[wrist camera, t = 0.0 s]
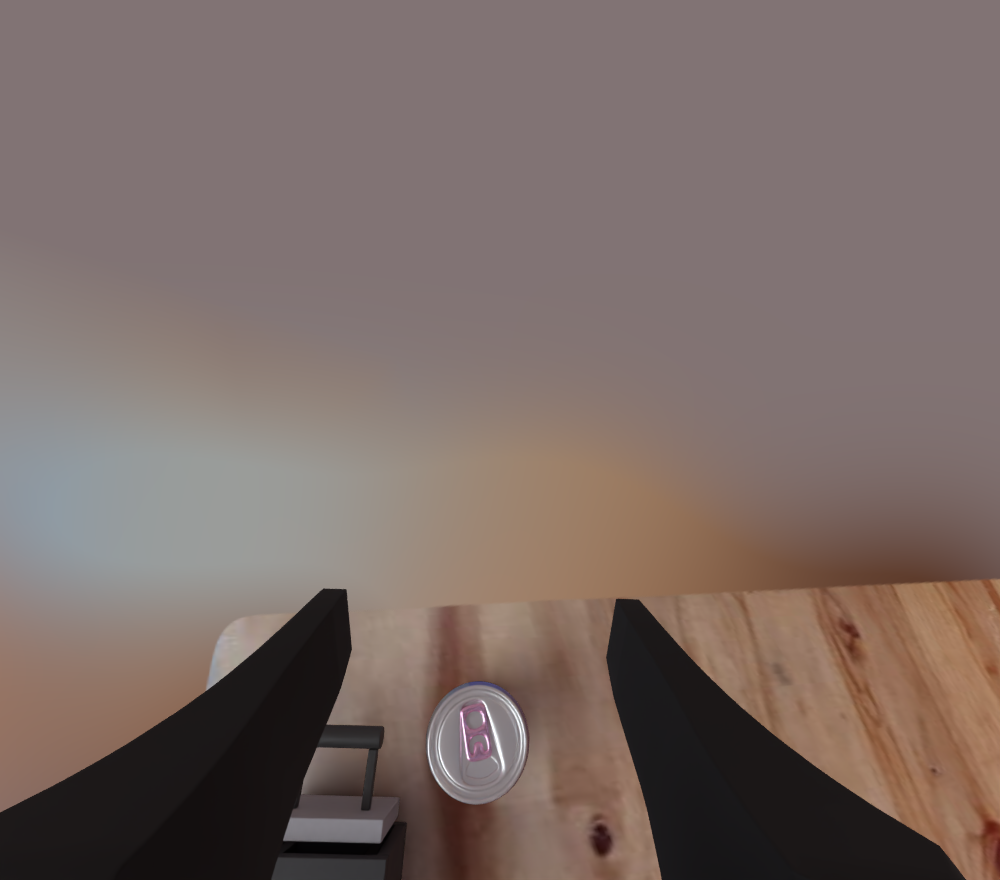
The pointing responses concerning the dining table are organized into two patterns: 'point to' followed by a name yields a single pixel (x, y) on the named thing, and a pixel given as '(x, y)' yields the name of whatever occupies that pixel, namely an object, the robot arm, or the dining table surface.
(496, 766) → the beverage can
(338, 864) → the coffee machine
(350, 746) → the drawer
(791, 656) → the dining table surface
